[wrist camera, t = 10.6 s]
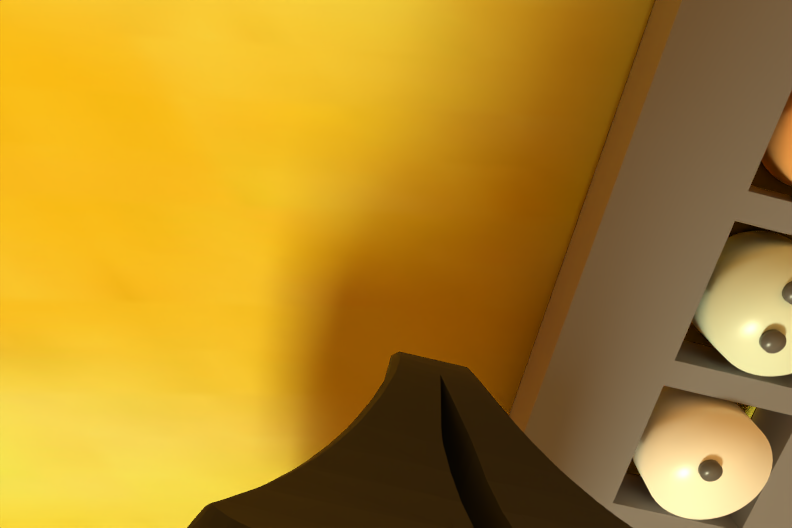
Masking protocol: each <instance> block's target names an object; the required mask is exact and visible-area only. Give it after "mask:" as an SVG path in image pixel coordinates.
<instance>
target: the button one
mask: <svg viewBox="0 0 792 528" xmlns="http://www.w3.org/2000/svg"><path fill="white" fill-rule="evenodd" d="M632 460H633V462H634V463H635V465H636V467H637V469H638V471H639V473H640V475H641V477H642V478H643V480H644V482H645V484H646V486H647V488H648V490H649V492H650V493H651V495H652V497H653V498H654V500H655V501H656V502H657V503H658V504H659V505H660V506H661V507H662V508H664V509H665V510H667V511H668V512H670V513H672V514H674V515H677V516H680V517H683V518H688V519H699V520H702V519H713V518H718V517H722V516H725V515H728V514H730V513H733V512H735V511H737V510H739V509H741V508H742V507H744V506H745V505H747V504H748V503H749V502H751V501H752V500H753V499H754V498H755V497H756V496H757V495H758V494H759V493H760V491H761V490H762V489H763V487H764V486H765V484H766V482H767V481H768V478H769V476H770V473H771V469H772V462H773V458H772V450H771V446H770V444H769V441H768V440H767V438H766V436H765V435H764V434H763V433H762V431H761V430H760V429H759V428H758V427H757V426H756V425H755V423H754V422H753V421H752V420H751V419H750V418H749V417H748V416H747V415H746V413H745V412H744V411H743V410H742V409H741V408H740V407H739V406H738V404H737V403H736V402H732V401H728V400H724V399H719V398H715V397H711V396H707V395H702V394H698V393H694V392H690V391H685V390H681V389H677V388H672V387H668V386H664V387H663V388H662V390H661V393H660V395H659V397H658V400H657V402H656V404H655V407H654V409H653V411H652V414H651V416H650V418H649V420H648V423H647V425H646V427H645V430H644V432H643V434H642V437H641V439H640V441H639V443H638V446H637V448H636V450H635V453H634V455H633V457H632Z"/></svg>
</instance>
